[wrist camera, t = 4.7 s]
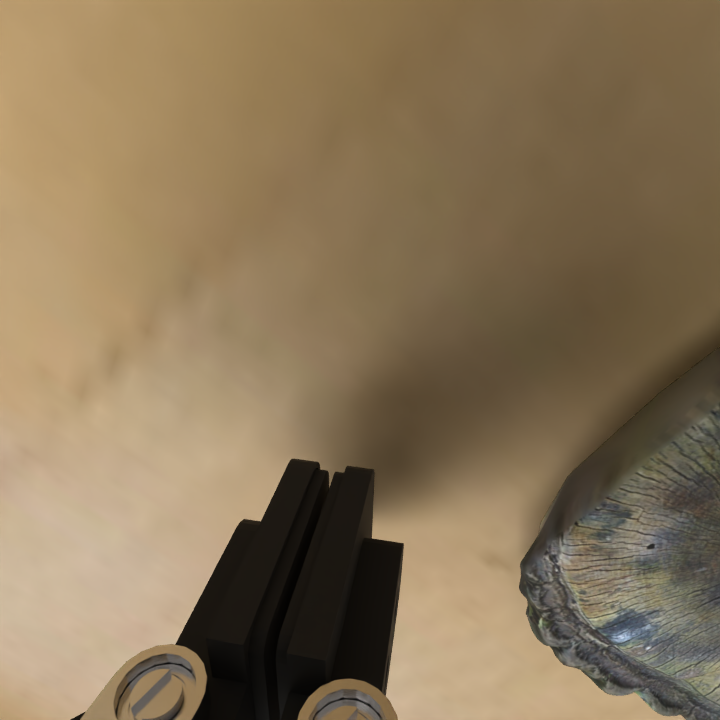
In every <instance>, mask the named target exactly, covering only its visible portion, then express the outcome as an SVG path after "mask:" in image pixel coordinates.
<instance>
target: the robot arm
mask: <svg viewBox="0 0 720 720" xmlns="http://www.w3.org/2000/svg"><path fill="white" fill-rule="evenodd" d="M373 497H374V469H366V468H359V467H351V466H347V467H346V469H345V472H344V473H341V472H335V474H334V476H333V479H332V482H331V485H330V488H329V473H328V471H326V470H320V464H319V462H314V461H306V460H299V459H291V460H290V462H289V463H288V466H287V468H286V470H285V472H284V474H283V476H282V478H281V480H280V482H279V485H278V487H277V489H276V491H275V493H274V495H273V497H272V499H271V501H270V504H269V506H268V508H267V510H266V512H265V514H264V516H263V518H262V520H261V522H260V521H253V520H247V519H243V520H242V521H241V522H240V523H239V525H238V526H237V528H236V530H235V532H234V533H233V535H232V537H231V539H230V541H229V543H228V545H227V547H226V549H225V551H224V553H223V554H222V556H221V558H220V560H219V562H218V564H217V566H216V568H215V570H214V572H213V574H212V576H211V577H210V579H209V581H208V583H207V585H206V587H205V589H204V591H203V593H202V595H201V597H200V599H199V600H198V602H197V604H196V606H195V608H194V610H193V612H192V614H191V616H190V618H189V620H188V622H187V623H186V625H185V627H184V629H183V631H182V633H181V635H180V637H179V639H178V641H177V643H176V644H175V645H173V644H169V645H160V646H155V647H153V648H150V649H147V650H145V651H142V652H140V653H139V654H137V655H136V656H134V657H133V658H131V659H130V660H128V661H127V662H126V663H125V664H124V665H123V666H122V667H121V668H120V669H119V670H118V671H117V672H116V673H115V674H114V676H113V677H112V678H111V680H110V681H109V682H108V684H107V685H106V686H105V688H104V689H103V690H102V691H101V693H100V694H99V695H98V697H97V698H96V699H95V701H94V702H93V703H92V705H91V706H90V707H89V708H88V710H87V711H86V712H84V713H82V714H80V715H78V716H77V717H75V718H73V719H71V720H398V718H397V714H396V713H395V711H394V709H393V707H392V705H391V703H390V701H389V700H388V699H387V697H386V689H387V682H388V675H389V667H390V660H391V653H392V645H393V638H394V631H395V623H396V616H397V608H398V600H399V591H400V582H401V572H402V560H403V548H404V543H397V542H391V541H384V540H378V539H372V519H373Z"/></svg>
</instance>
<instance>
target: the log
mask: <svg viewBox="0 0 720 720" xmlns="http://www.w3.org/2000/svg"><path fill="white" fill-rule="evenodd" d="M520 567H521V579H520V585H519V589H520V591H521V593H522V594H523V595H524V596H525V597H526V598H527V601H528V607H527V610H526V615H527V617H528V620H529V623H530V626H531V629H532V631H533V633H534V634H535V636H536V638H537V639H538V640H539V641H540V642H542V643H543V644H544V645H547V646H550V647H551V648H552V649H553V652H554V654H555V656H556V657H557V658H558V659H559V661H560V662H561V663H562V664H563V665H566V666H569V667H574V668H577V669H580V670H581V671H582V672H583V673H585V674H586V675H587V676H588V677H589V678H590V679H591V680H593V682H594V683H595V684H596V685H597V686H598V687H599V688H600V689H602V690H603V691H604V692H605V693H607V694H610V695H616V696H623V695H628V694H631V693H633V692H635V693H636V694H637V695H639V696H640V697H641V698H642V699H643V700H644V701H645V702H646V703H647V704H648V705H649V706H650V707H651V708H652V709H653V710H654V711H656V712H657V713H659V714H661V715H663V716H677V715H682V716H683V717H684V718H685V719H686V720H720V347H719V348H717V349H716V350H715V351H713V352H712V353H711V354H709V355H708V356H707V357H706V358H704V359H703V360H702V361H700V362H699V363H698V364H697V365H695V366H694V367H693V368H691V369H690V370H689V371H687V372H686V373H685V374H684V375H682V376H681V377H680V378H678V379H677V380H676V381H674V382H673V383H672V384H671V385H669V386H668V387H667V388H665V389H664V390H663V391H662V392H660V393H659V394H658V395H657V396H656V397H655V398H654V399H653V400H652V401H650V402H649V403H648V404H647V405H646V406H645V407H644V408H643V409H642V410H640V411H639V412H638V413H637V414H636V415H635V416H634V417H633V418H632V419H630V420H629V421H628V422H627V423H626V424H625V425H624V426H623V427H622V428H620V429H619V430H618V431H617V432H616V433H615V434H614V435H613V436H612V437H610V438H609V439H608V440H607V441H606V442H605V443H604V444H603V445H602V446H600V447H599V448H598V449H597V450H596V451H595V452H594V453H593V454H592V455H590V456H589V457H588V458H587V459H586V460H585V461H584V462H583V463H581V464H580V465H579V466H578V467H577V468H576V469H575V470H574V471H573V472H572V473H571V474H570V475H569V476H568V477H567V479H566V480H565V482H564V484H563V486H562V487H561V489H560V491H559V492H558V494H557V496H556V498H555V499H554V501H553V503H552V504H551V506H550V508H549V509H548V511H547V513H546V515H545V516H544V518H543V520H542V521H541V524H540V530H539V535H538V537H537V538H536V540H535V541H534V543H533V544H532V546H531V548H530V549H529V551H528V552H527V554H526V555H525V557H524V558H523V560H522V561H521V564H520Z"/></svg>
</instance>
